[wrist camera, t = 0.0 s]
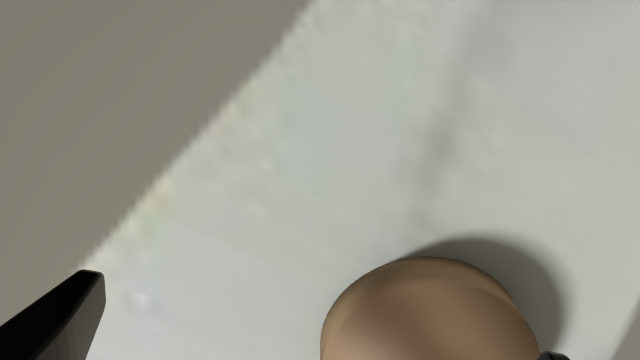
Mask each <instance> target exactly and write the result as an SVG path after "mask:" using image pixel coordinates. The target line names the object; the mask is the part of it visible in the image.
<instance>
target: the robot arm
mask: <svg viewBox="0 0 640 360" xmlns="http://www.w3.org/2000/svg"><path fill="white" fill-rule="evenodd" d="M105 304H106V295H105V280H104V275H103V274H102V273H101V272H97V271H91V270H85V269H83V270H79V271H77V272H76V273H74V274H73V275H72V276H70V277H69V278H67V279H66V280H65V281H63V282H62V283H60V284H59V285H58V286H56V287H55V288H53V289H52V290H51V291H49V292H48V293H46V294H45V295H43V296H42V297H41V298H39V299H38V300H36V301H35V302H34V303H32V304H31V305H29V306H28V307H27V308H25V309H24V310H22V311H21V312H20V313H18V314H17V315H15V316H14V317H12V318H11V319H10V320H8V321H7V322H5V323H4V324H3V325H1V326H0V360H85V359H86V356H87V354H88V351H89V348H90V346H91V343H92V341H93V338H94V335H95V333H96V330H97V328H98V325H99V322H100V320H101V317H102V315H103V312H104V309H105ZM537 360H570V359H569V358H568V357H567V356H565V355H564V354H561V353H555V352H550V351H545V352H543V353H542V354H541V355H540V356H539V357H538V358H537Z"/></svg>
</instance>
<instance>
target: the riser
mask: <svg viewBox="0 0 640 360" xmlns="http://www.w3.org/2000/svg"><path fill="white" fill-rule="evenodd" d="M539 356H540V352H539V348H538V344H537V341H536V339H535V336H534V334H533V332H532V330H531V329H530V327H529V325H528V324H527V322H526V321H525V319H524V318H523V316H522V314H521V313H520V311H519V310H518V308H517V307H516V305H515V303H514V302H513V300H512V299H511V297H510V296H509V294H508V292H507V291H506V290H505V289H504V288H503V287H502V286H501V284H500V283H499V282H497V281H496V280H495V279H494V278H493V277H491V276H490V275H489V274H487V273H485V272H484V271H482V270H480V269H478V268H476V267H474V266H472V265H470V264H467V263H464V262H460V261H457V260H452V259H447V258H439V257H419V258H410V259H404V260H399V261H396V262H392V263H389V264H386V265H383V266H381V267H379V268H376V269H374V270H372V271H370V272H369V273H367V274H365V275H363V276H362V277H360V278H359V279H358V280H356V281H355V282H354V283H352V284H351V285H350V286H349V287H348V288H347V289H346V290H345V291H344V292H343V293H342V294H341V295H340V296H339V297H338V299H337V300H336V301H335V302H334V304H333V305H332V307H331V309H330V311H329V312H328V314H327V317H326V319H325V322H324V324H323V328H322V333H321V341H320V360H537V358H538V357H539Z"/></svg>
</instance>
